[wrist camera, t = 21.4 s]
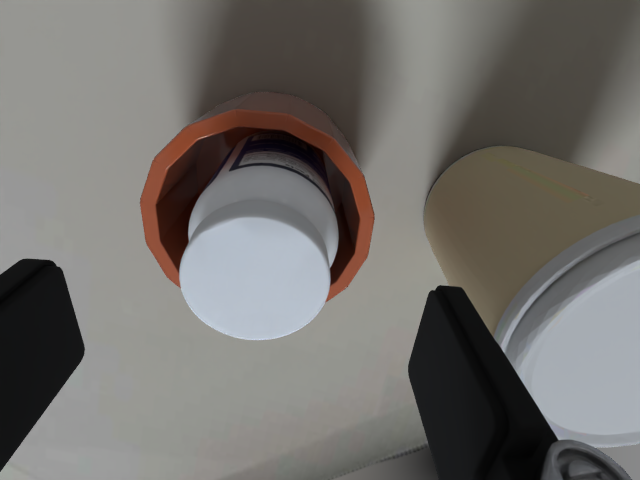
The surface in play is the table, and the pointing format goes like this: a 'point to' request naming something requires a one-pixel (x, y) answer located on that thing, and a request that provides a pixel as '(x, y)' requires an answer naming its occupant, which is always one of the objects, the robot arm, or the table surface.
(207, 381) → the table surface
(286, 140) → the pill bottle
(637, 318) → the coffee cup
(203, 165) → the pen cup
